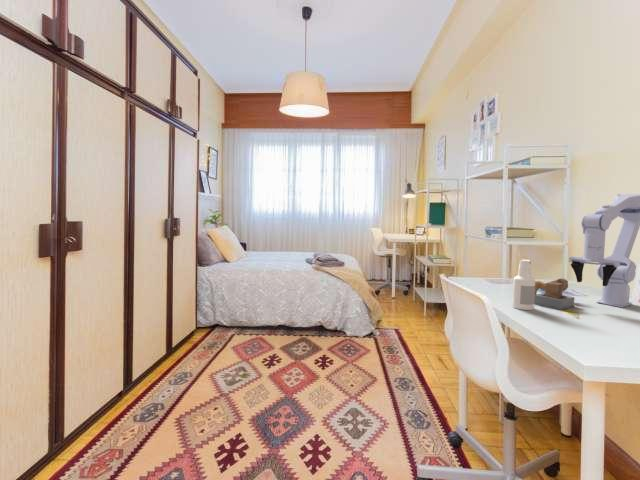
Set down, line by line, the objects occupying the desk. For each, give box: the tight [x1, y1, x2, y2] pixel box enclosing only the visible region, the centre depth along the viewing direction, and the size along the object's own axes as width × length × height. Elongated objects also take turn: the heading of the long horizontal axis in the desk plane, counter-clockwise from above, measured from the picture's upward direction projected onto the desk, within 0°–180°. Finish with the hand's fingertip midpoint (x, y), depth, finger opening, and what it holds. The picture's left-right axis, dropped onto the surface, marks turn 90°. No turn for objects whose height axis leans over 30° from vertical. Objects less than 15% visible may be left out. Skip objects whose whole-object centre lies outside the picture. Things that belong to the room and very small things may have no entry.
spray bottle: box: [511, 259, 536, 311], centre depth 119 cm, size 7×7×18 cm
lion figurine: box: [535, 278, 569, 295], centre depth 134 cm, size 15×5×9 cm, turn 47°
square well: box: [534, 291, 575, 311], centre depth 123 cm, size 10×10×4 cm
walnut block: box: [545, 281, 564, 299], centre depth 123 cm, size 4×4×8 cm
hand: (591, 283), depth 118 cm, fingers open, 7 cm apart
